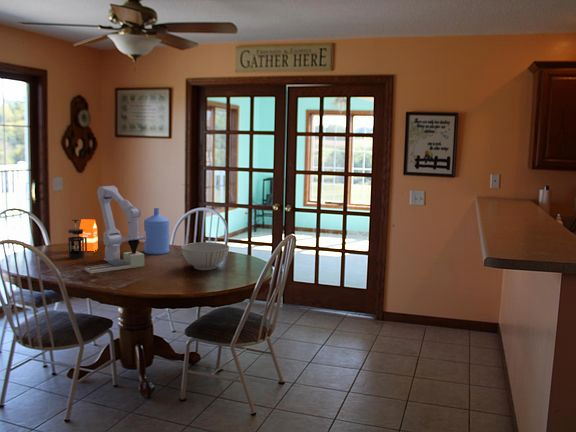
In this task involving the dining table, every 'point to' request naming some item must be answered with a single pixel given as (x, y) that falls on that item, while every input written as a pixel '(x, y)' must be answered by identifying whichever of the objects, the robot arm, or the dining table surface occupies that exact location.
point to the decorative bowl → (205, 254)
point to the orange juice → (89, 234)
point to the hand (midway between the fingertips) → (133, 253)
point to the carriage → (116, 259)
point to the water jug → (156, 234)
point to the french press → (73, 253)
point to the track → (129, 262)
